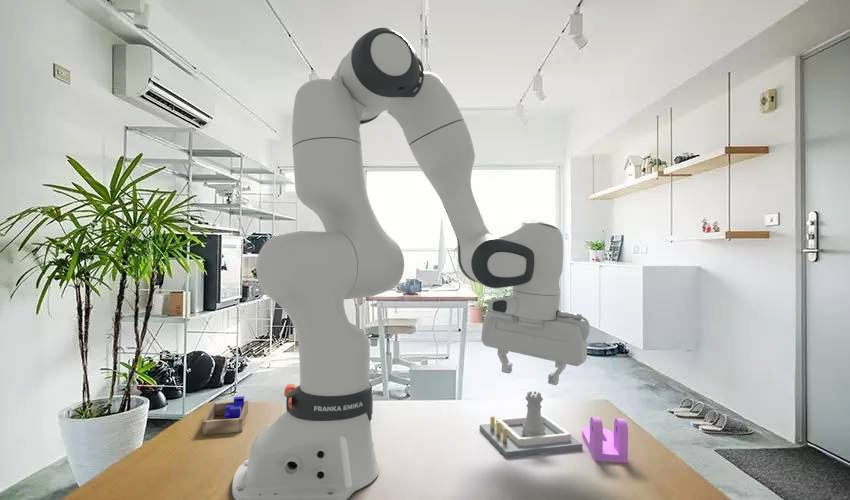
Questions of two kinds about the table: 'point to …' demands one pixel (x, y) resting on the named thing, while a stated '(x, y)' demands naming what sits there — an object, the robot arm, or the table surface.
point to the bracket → (607, 440)
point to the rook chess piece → (533, 416)
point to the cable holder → (234, 408)
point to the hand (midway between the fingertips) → (529, 378)
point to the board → (515, 444)
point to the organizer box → (223, 420)
